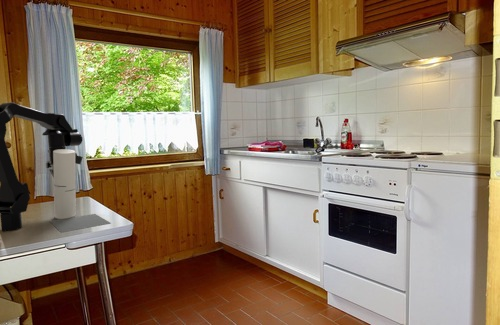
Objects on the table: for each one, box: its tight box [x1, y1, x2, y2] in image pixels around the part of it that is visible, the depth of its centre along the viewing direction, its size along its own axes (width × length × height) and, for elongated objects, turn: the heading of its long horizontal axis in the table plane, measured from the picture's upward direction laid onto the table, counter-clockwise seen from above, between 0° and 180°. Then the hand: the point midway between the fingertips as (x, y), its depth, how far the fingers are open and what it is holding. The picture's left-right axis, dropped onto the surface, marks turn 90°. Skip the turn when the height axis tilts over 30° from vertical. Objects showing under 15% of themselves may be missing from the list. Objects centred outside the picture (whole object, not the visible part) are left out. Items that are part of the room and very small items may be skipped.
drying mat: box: [49, 213, 112, 233], centre depth 125 cm, size 20×16×1 cm
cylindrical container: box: [53, 148, 77, 220], centre depth 132 cm, size 7×7×25 cm
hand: (60, 187), depth 138 cm, fingers closed
